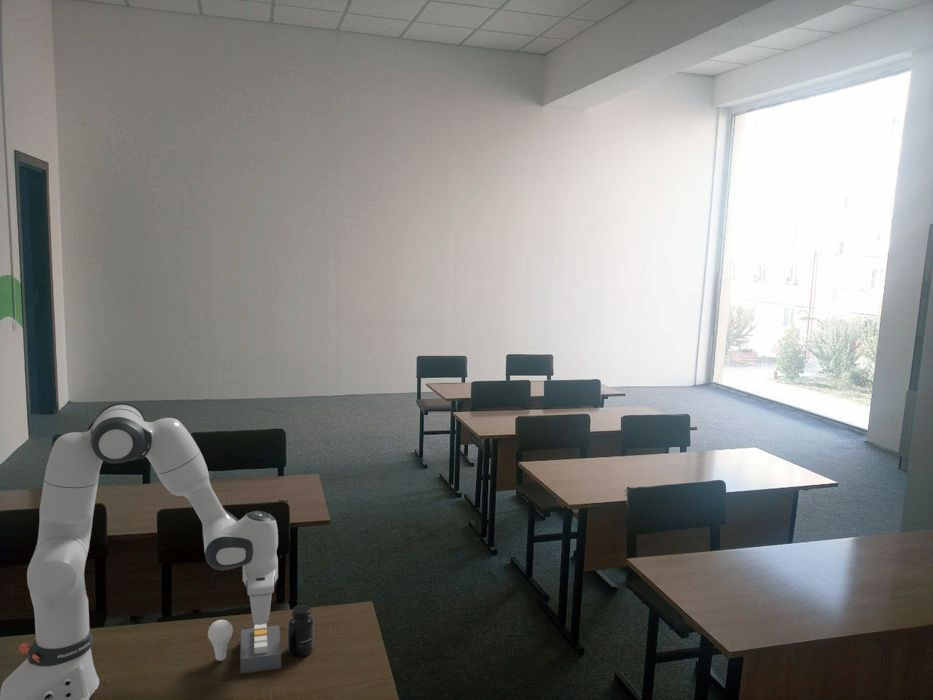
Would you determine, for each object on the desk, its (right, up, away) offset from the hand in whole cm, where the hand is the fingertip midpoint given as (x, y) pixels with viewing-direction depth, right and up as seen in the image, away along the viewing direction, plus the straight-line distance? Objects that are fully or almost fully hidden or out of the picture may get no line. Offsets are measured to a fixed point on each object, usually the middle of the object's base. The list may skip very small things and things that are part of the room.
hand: (260, 621), depth 184 cm
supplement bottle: (+10, -10, +5) cm, 14 cm away
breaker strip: (-1, -9, +5) cm, 10 cm away
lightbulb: (-10, -10, -1) cm, 14 cm away
